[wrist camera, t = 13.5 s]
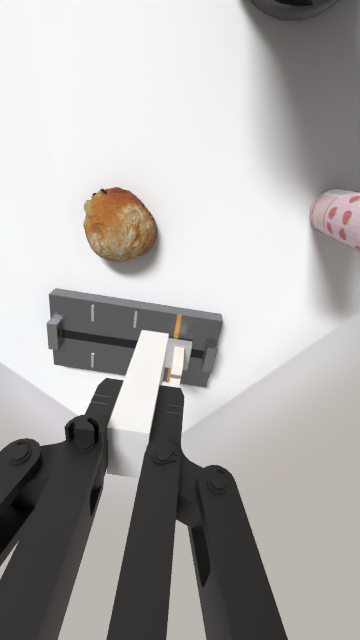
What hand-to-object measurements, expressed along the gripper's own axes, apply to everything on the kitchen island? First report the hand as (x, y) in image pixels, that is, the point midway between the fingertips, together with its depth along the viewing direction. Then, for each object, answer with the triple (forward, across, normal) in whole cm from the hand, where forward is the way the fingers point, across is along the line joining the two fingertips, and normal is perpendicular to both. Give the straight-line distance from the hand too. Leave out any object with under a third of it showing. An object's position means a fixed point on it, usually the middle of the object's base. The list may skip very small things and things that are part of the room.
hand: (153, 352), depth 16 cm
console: (+30, -6, -19) cm, 36 cm away
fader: (+27, +2, -19) cm, 33 cm away
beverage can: (+31, +20, +6) cm, 37 cm away
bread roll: (+30, -9, 0) cm, 32 cm away
